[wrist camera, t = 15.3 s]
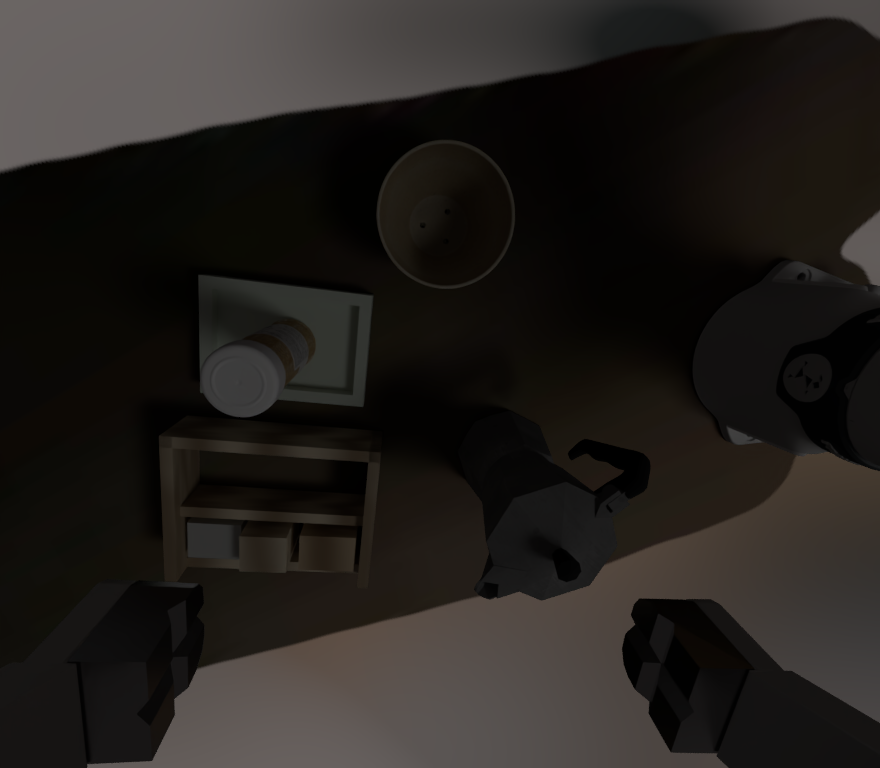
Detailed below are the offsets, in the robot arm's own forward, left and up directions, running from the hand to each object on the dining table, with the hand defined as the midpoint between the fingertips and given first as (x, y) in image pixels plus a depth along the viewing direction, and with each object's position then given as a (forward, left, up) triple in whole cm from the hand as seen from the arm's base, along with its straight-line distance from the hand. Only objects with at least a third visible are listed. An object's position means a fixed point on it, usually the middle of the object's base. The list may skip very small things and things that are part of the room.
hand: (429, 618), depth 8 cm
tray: (+10, +1, -33) cm, 35 cm away
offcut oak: (+5, +20, -33) cm, 39 cm away
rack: (+10, +16, -33) cm, 38 cm away
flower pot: (-2, -10, -33) cm, 35 cm away
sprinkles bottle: (+10, +1, -32) cm, 34 cm away
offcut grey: (+15, +20, -33) cm, 42 cm away
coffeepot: (-12, +10, -33) cm, 37 cm away
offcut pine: (+10, +20, -33) cm, 40 cm away
